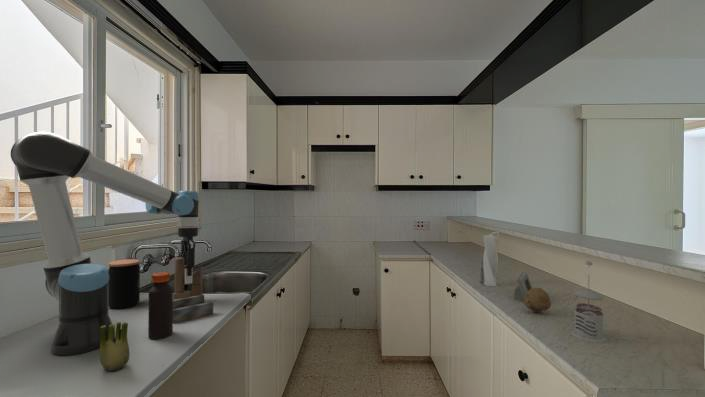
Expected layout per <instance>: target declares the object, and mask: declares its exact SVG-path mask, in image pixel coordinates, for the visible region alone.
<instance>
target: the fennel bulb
mask: <svg viewBox="0 0 705 397" xmlns="http://www.w3.org/2000/svg"><path fill="white" fill-rule="evenodd" d="M115 325H116V327H115ZM128 325H129V323H128V322H126V321H124V322H121V321H116V323H112V324H111V325H109V330H108V339H107V329H106V326H105V325H104V326H101V327H100V335H101V340H100V341H101V342H100V348H99V360H100V364H101V365H102V368H103V369H104V370H106V371H109V372H116V371H119V370H121V369H123V368H124V367H125V366H126V365H127V364H128V362H129V360H130V346H129V343H128V342H129V341H128ZM115 328H116V329H115ZM114 332H115V339H114Z"/></svg>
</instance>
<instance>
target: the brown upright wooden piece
mask: <svg viewBox="0 0 705 397" xmlns="http://www.w3.org/2000/svg"><path fill="white" fill-rule="evenodd" d="M184 264H185V259H184V258H181V257H176V258H174V291H173V300H176V299H181V298H187V297H192V296H198V295H204V294H203V292H204V290H203V289H204V288H203V285H204V284H203V280H204V279H203V278H204V277H203V276H204V275H203V274H204V272H203V271H204V270H203V268H204V266H203V265H202V266H201V267H199V268H198V269H197V270H196V271H195V272H194V273H193V278H192V283H189V284H185V281H184ZM185 285H191V290H185Z"/></svg>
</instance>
